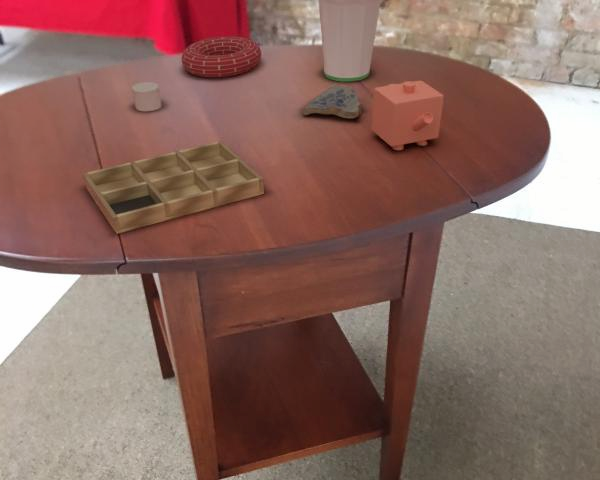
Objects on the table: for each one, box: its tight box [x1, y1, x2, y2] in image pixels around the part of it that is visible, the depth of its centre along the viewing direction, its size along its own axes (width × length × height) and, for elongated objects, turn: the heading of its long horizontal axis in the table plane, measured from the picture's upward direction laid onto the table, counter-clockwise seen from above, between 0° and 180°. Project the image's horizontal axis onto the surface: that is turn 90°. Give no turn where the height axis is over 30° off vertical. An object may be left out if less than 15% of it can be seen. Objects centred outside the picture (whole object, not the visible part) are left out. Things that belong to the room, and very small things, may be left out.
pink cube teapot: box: [371, 79, 445, 151], centre depth 93 cm, size 8×12×8 cm, turn 21°
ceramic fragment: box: [302, 84, 363, 119], centre depth 104 cm, size 11×3×10 cm
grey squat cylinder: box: [131, 81, 162, 112], centre depth 106 cm, size 4×4×3 cm
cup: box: [318, 0, 381, 83], centre depth 112 cm, size 12×12×15 cm
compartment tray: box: [82, 140, 265, 235], centre depth 85 cm, size 20×14×2 cm
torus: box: [181, 36, 262, 78], centre depth 120 cm, size 16×14×4 cm
